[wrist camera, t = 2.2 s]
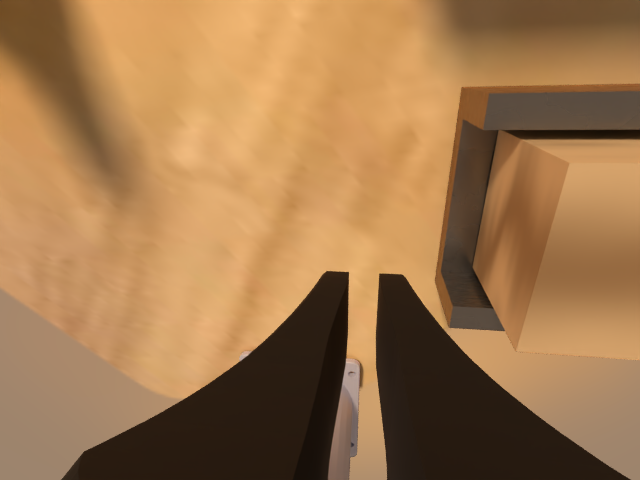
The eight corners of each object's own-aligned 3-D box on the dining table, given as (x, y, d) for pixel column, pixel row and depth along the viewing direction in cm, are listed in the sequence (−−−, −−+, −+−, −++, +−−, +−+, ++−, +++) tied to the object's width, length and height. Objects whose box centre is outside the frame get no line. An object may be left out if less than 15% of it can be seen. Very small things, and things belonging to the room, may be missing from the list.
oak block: (600, 272, 17) (704, 364, 12) (472, 267, 18) (515, 351, 13) (655, 128, 14) (823, 164, 9) (498, 128, 15) (569, 163, 10)
